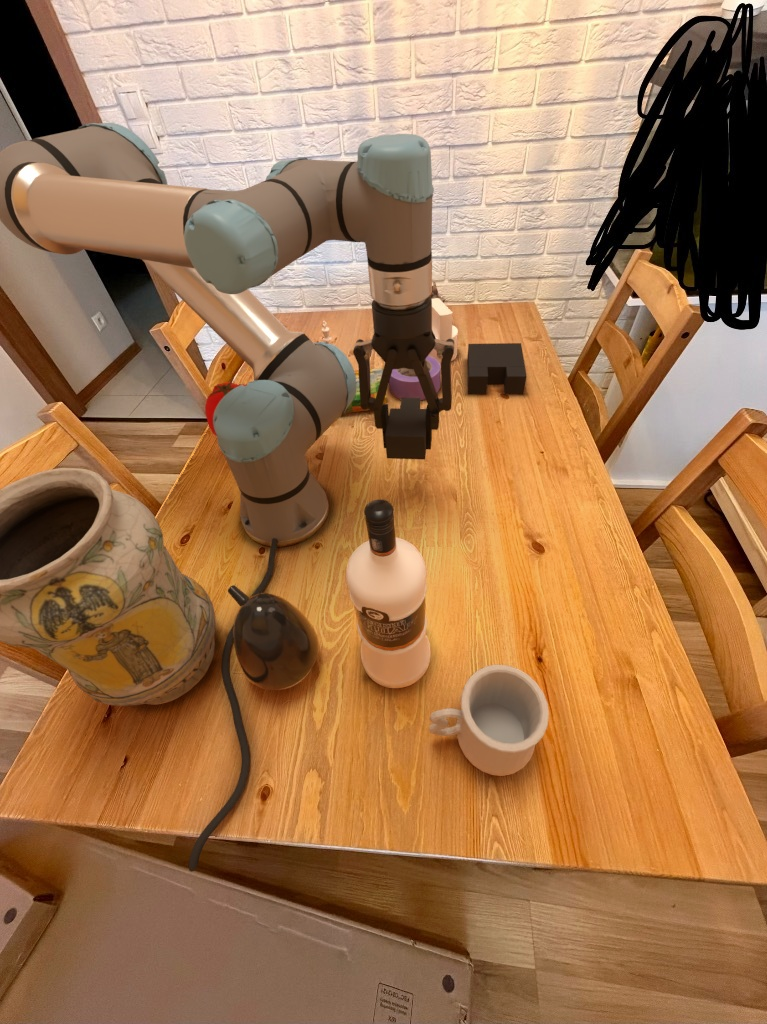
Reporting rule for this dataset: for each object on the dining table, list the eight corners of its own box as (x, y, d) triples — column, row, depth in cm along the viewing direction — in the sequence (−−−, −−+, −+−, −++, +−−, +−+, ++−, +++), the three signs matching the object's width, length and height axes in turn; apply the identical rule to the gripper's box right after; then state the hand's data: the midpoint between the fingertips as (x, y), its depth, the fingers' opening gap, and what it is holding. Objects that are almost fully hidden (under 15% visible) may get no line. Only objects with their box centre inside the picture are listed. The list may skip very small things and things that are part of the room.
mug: (523, 694, 58) (537, 660, 50) (542, 775, 52) (561, 750, 44) (425, 700, 58) (424, 667, 51) (432, 781, 52) (433, 757, 45)
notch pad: (523, 394, 100) (526, 376, 97) (467, 394, 102) (469, 376, 99) (518, 360, 110) (521, 343, 106) (467, 361, 111) (468, 343, 108)
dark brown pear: (287, 615, 68) (259, 553, 56) (338, 656, 63) (319, 597, 52) (232, 668, 63) (190, 612, 52) (283, 717, 58) (249, 667, 47)
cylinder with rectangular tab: (415, 350, 116) (414, 302, 107) (448, 342, 118) (449, 295, 109) (428, 367, 110) (428, 318, 101) (462, 359, 112) (465, 310, 103)
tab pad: (425, 459, 71) (424, 436, 68) (386, 458, 72) (384, 435, 69) (429, 420, 78) (429, 397, 75) (394, 419, 79) (392, 397, 75)
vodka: (441, 642, 63) (448, 489, 41) (411, 704, 58) (401, 566, 36) (382, 615, 67) (359, 460, 44) (349, 671, 61) (304, 527, 39)
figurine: (422, 335, 121) (421, 289, 112) (426, 323, 125) (426, 277, 116) (446, 336, 120) (447, 289, 111) (450, 324, 124) (451, 278, 115)
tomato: (235, 467, 91) (211, 412, 81) (208, 439, 98) (184, 384, 88) (284, 441, 95) (268, 385, 86) (256, 415, 102) (238, 361, 92)
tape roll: (385, 376, 109) (383, 357, 105) (433, 369, 110) (433, 350, 106) (393, 405, 101) (392, 385, 97) (445, 397, 102) (446, 377, 98)
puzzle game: (294, 373, 104) (382, 364, 104) (298, 391, 107) (384, 382, 107) (291, 403, 96) (386, 393, 96) (296, 421, 100) (387, 412, 99)
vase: (114, 757, 56) (-91, 647, 34) (89, 645, 67) (-80, 506, 45) (250, 674, 62) (151, 534, 40) (208, 583, 73) (110, 432, 50)
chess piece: (318, 363, 115) (310, 325, 108) (325, 353, 118) (318, 315, 111) (336, 365, 114) (330, 326, 107) (343, 355, 117) (337, 317, 110)
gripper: (320, 312, 56) (345, 456, 73) (479, 309, 53) (467, 460, 70) (332, 286, 61) (354, 427, 78) (479, 282, 58) (468, 430, 75)
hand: (407, 443), depth 74 cm, fingers closed on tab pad, 6 cm apart
